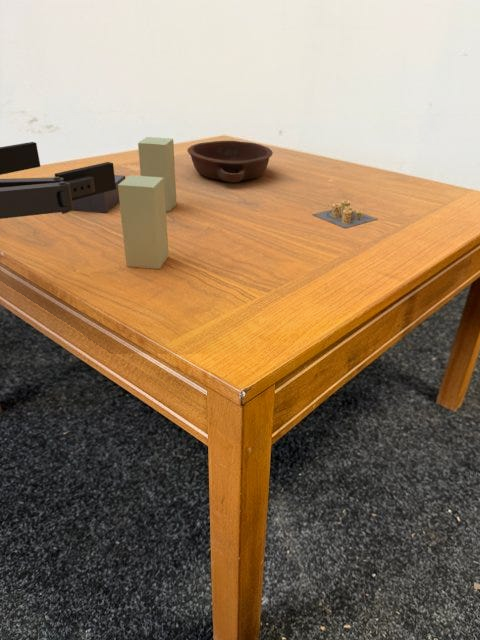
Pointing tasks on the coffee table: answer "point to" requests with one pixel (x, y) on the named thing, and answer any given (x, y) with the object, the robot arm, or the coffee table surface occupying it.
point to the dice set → (344, 215)
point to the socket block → (99, 199)
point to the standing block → (159, 164)
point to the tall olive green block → (144, 221)
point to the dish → (230, 159)
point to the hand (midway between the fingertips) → (72, 164)
